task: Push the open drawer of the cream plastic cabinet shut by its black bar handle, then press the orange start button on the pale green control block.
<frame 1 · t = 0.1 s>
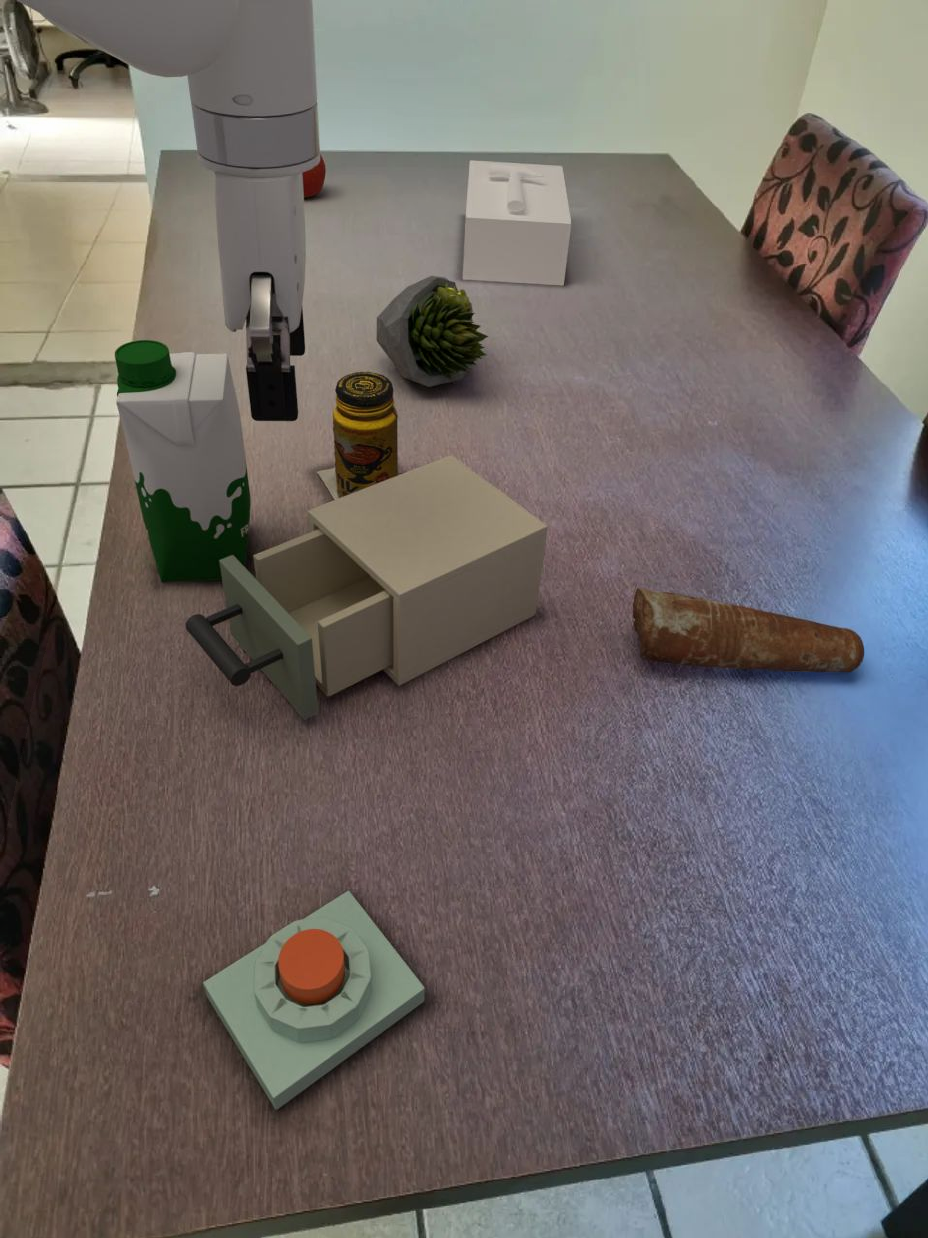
hand: (280, 384, 69), 20 cm above the table, tool pointing down, fingers open, 9 cm apart
potted plant: (438, 379, 112), on the table
cabinet: (425, 607, 81), on the table
milk carton: (206, 558, 85), on the table
white embossed block: (512, 250, 143), on the table
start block: (315, 999, 55), on the table
start button: (312, 966, 53), point 4 cm above the table, slide at 0.1 cm
apple: (302, 196, 156), on the table
drawer: (313, 615, 73), point 5 cm above the table, slide at 7.0 cm
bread: (738, 656, 79), on the table
condiment: (365, 489, 94), on the table
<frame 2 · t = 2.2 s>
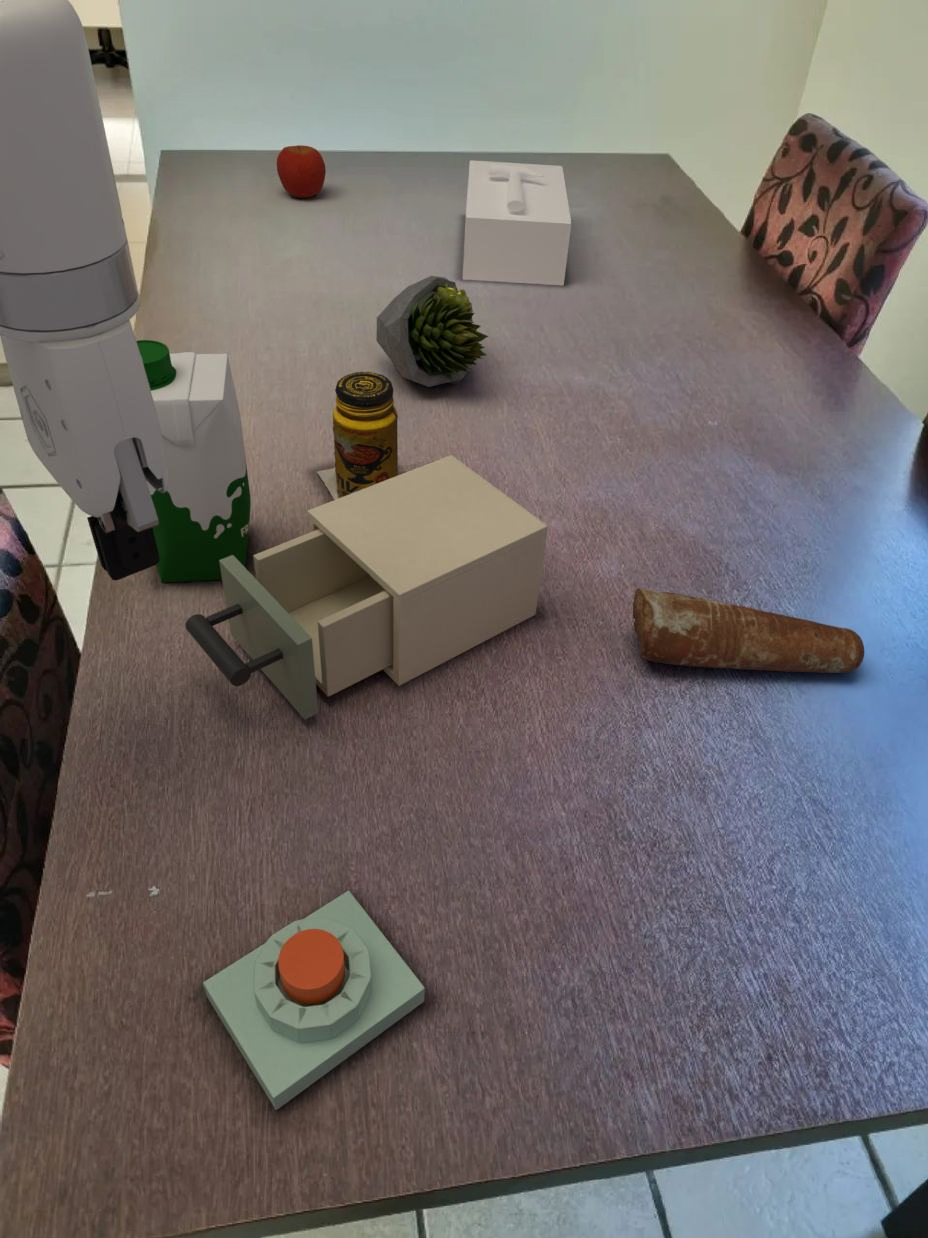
hand: (131, 565, 59), 16 cm above the table, tool pointing down, fingers closed
nothing on the table moved.
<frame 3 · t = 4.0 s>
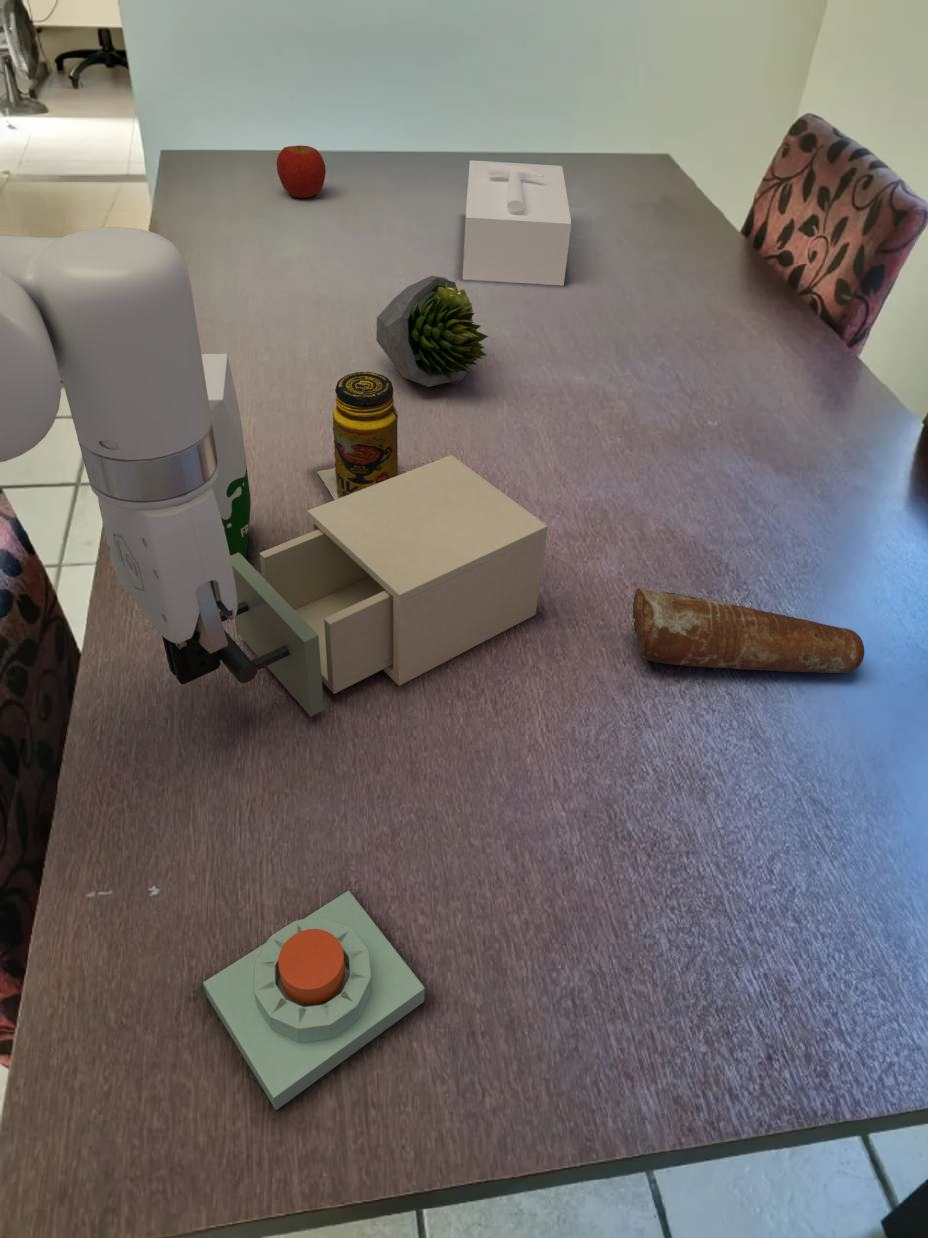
hand: (196, 669, 68), 5 cm above the table, tool pointing down, fingers closed
drawer: (319, 613, 73), point 5 cm above the table, slide at 6.5 cm, touching gripper
everything else where it was.
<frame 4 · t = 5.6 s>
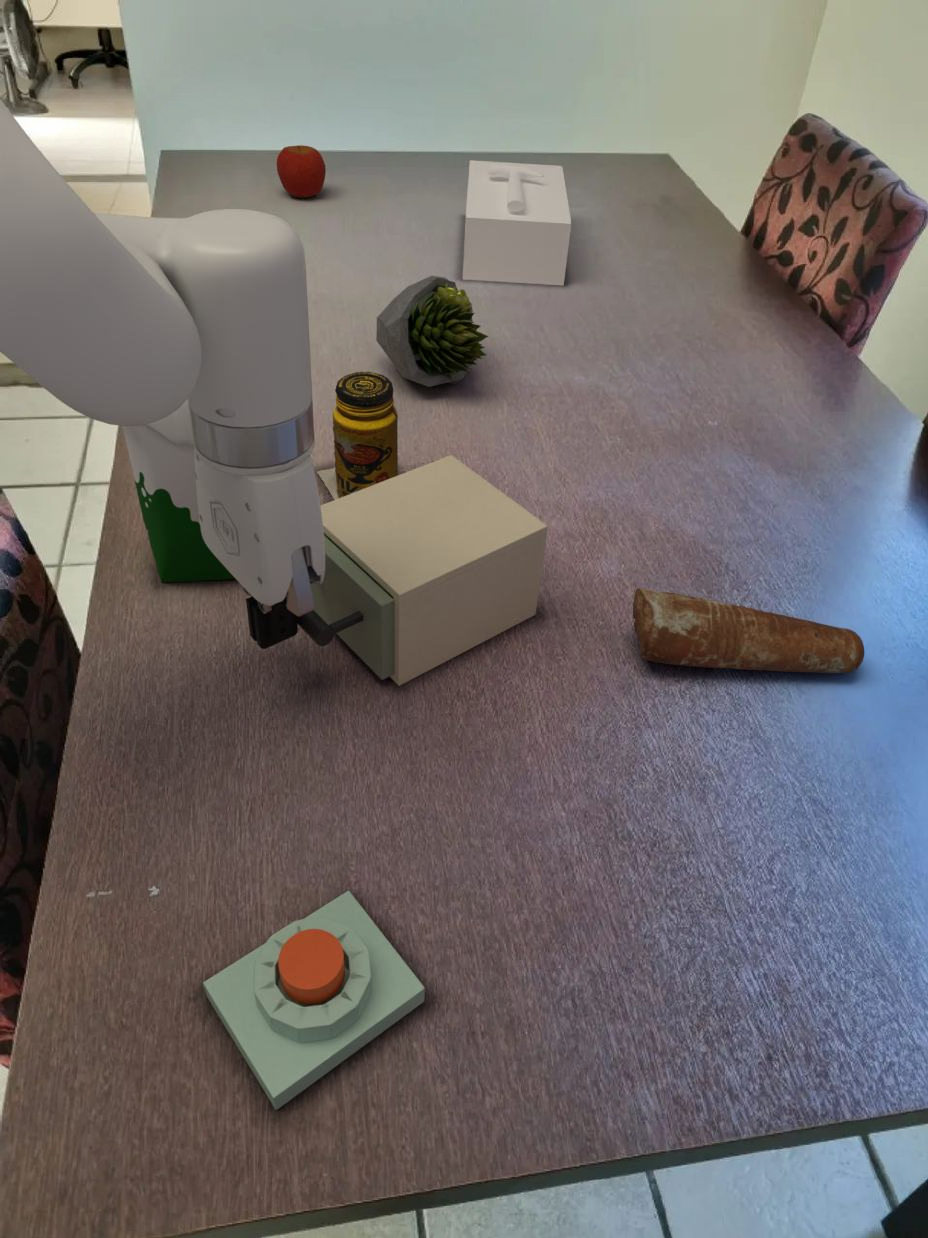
hand: (274, 636, 71), 5 cm above the table, tool pointing down, fingers closed
drawer: (387, 582, 76), point 5 cm above the table, slide at 0.0 cm, touching cabinet, gripper
everything else where it was.
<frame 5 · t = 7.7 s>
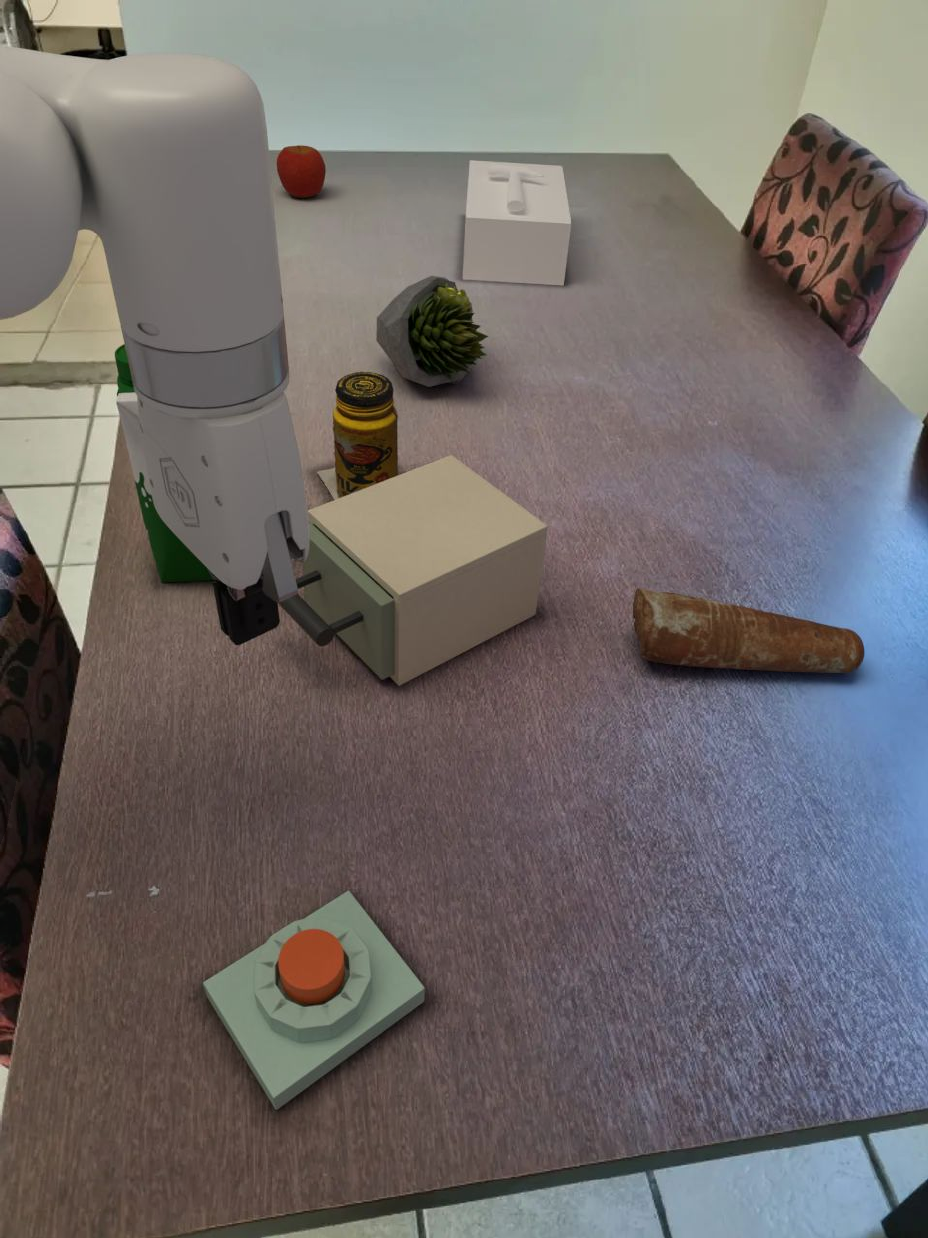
hand: (251, 628, 58), 14 cm above the table, tool pointing down, fingers closed
drawer: (387, 582, 76), point 5 cm above the table, slide at 0.0 cm
everything else where it was.
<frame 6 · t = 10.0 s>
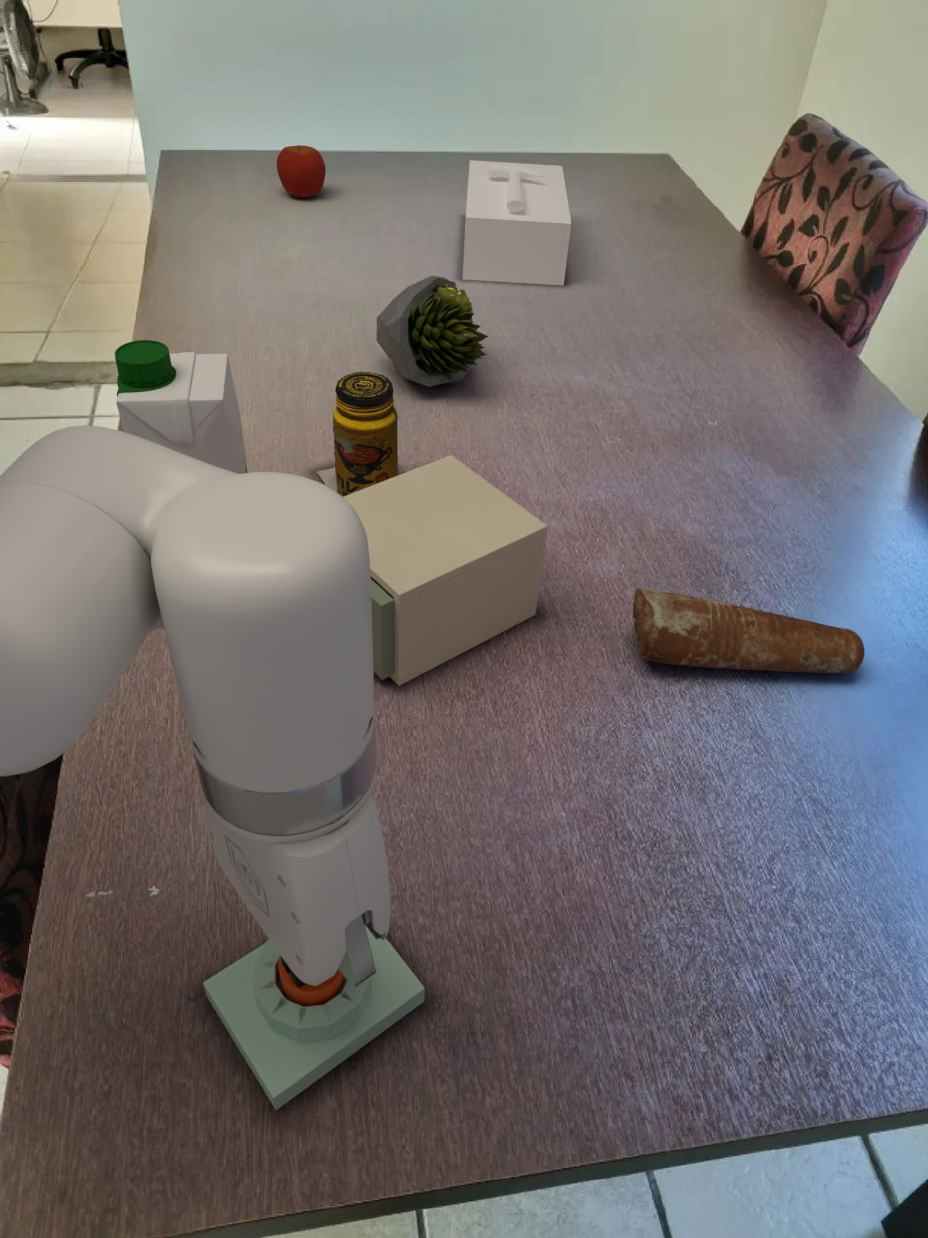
hand: (314, 962, 52), 4 cm above the table, tool pointing down, fingers closed
start button: (312, 969, 53), point 4 cm above the table, slide at -0.3 cm, touching gripper
everything else where it was.
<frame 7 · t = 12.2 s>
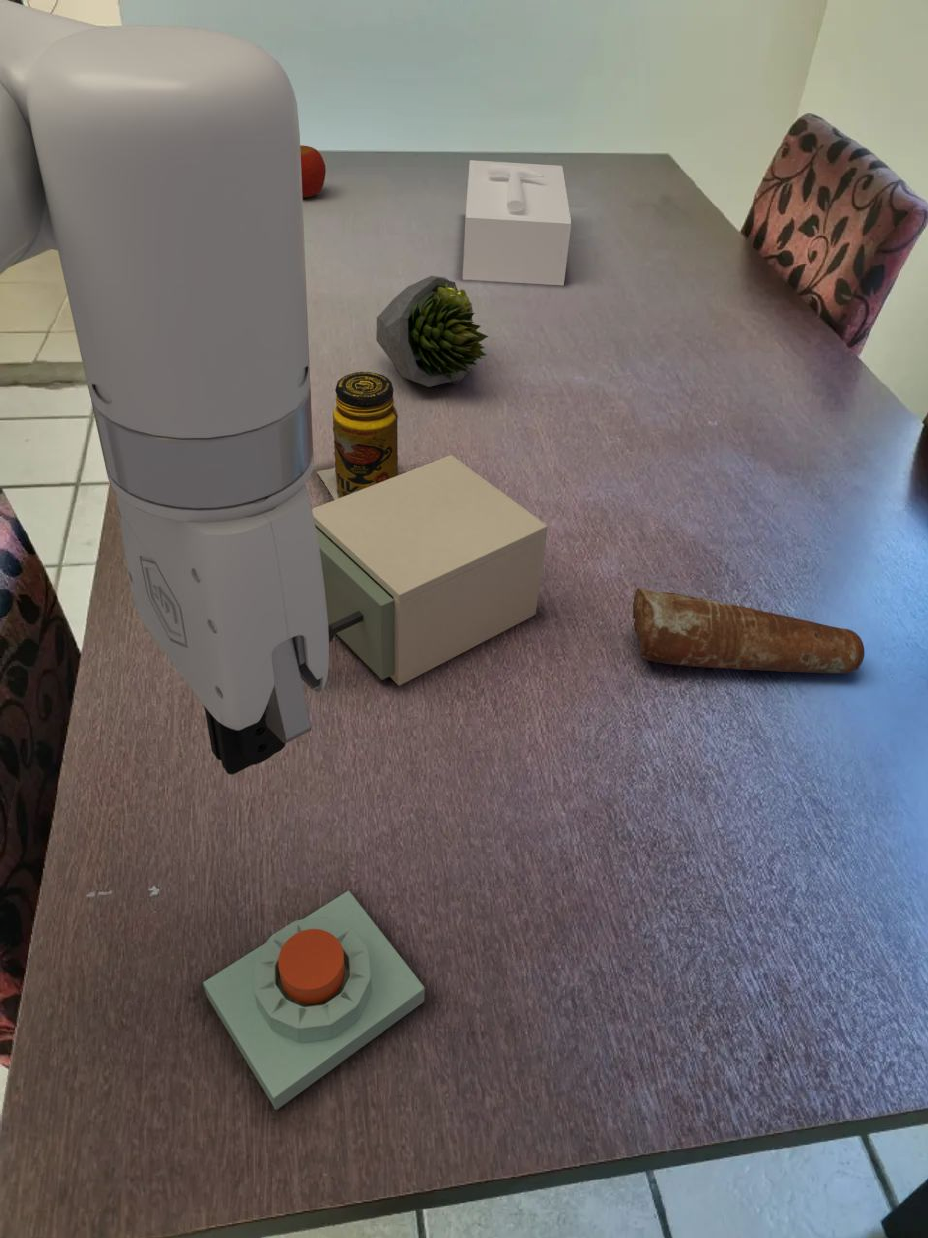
hand: (249, 751, 47), 17 cm above the table, tool pointing down, fingers closed
start button: (312, 966, 53), point 4 cm above the table, slide at 0.1 cm
everything else where it was.
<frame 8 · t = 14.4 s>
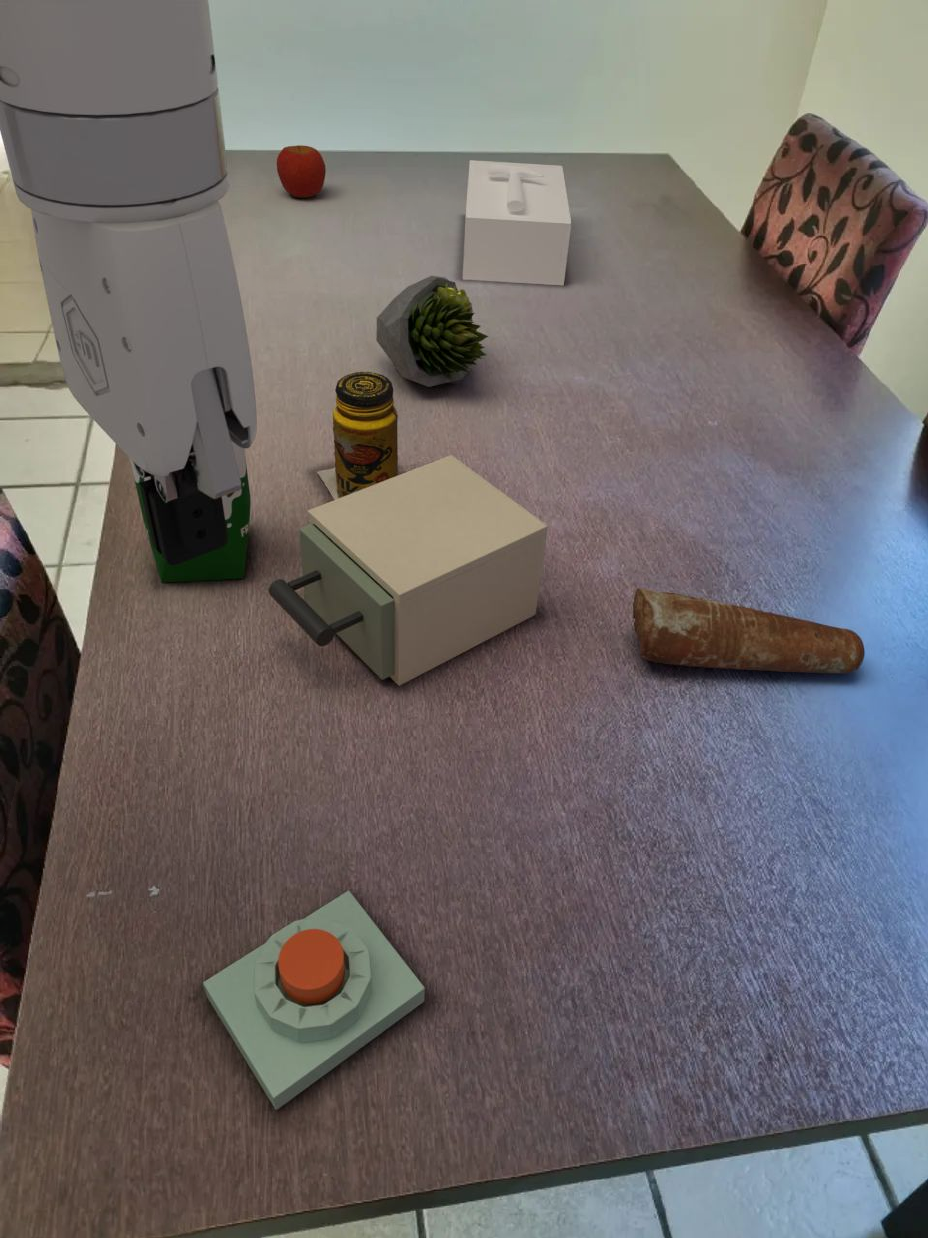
hand: (191, 547, 46), 25 cm above the table, tool pointing down, fingers closed
nothing on the table moved.
at the end: drawer slide at 0.0 cm; start button pushed in 1.1 cm at the most during the clip, back to where it started at the end; start button slide at 0.1 cm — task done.
